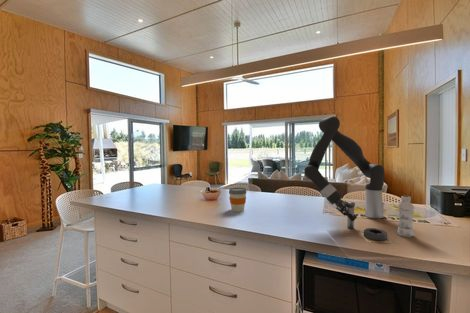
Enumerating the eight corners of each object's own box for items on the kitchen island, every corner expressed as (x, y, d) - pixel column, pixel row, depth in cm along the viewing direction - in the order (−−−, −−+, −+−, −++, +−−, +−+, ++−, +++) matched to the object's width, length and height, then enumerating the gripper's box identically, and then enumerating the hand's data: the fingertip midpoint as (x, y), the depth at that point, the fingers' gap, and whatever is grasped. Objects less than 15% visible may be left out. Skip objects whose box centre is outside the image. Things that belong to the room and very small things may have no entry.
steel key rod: (353, 228, 133) (353, 201, 132) (356, 231, 129) (356, 203, 128) (345, 228, 133) (345, 201, 132) (348, 230, 129) (348, 203, 128)
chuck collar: (380, 234, 120) (380, 228, 120) (390, 241, 111) (390, 234, 111) (361, 234, 121) (361, 228, 121) (370, 241, 112) (370, 234, 112)
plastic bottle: (394, 235, 122) (394, 195, 121) (406, 234, 123) (407, 195, 122) (404, 240, 116) (404, 198, 115) (417, 239, 116) (418, 197, 116)
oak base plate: (381, 235, 122) (381, 233, 122) (395, 244, 110) (395, 242, 110) (356, 235, 123) (356, 233, 123) (368, 244, 111) (368, 242, 111)
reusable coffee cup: (249, 209, 177) (249, 188, 177) (240, 213, 167) (240, 191, 166) (235, 206, 184) (234, 187, 183) (225, 210, 173) (225, 189, 173)
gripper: (332, 191, 129) (357, 218, 122) (339, 188, 140) (363, 212, 133) (322, 200, 132) (346, 226, 125) (330, 196, 144) (352, 220, 137)
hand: (354, 219), depth 129 cm, fingers closed on steel key rod, 3 cm apart
